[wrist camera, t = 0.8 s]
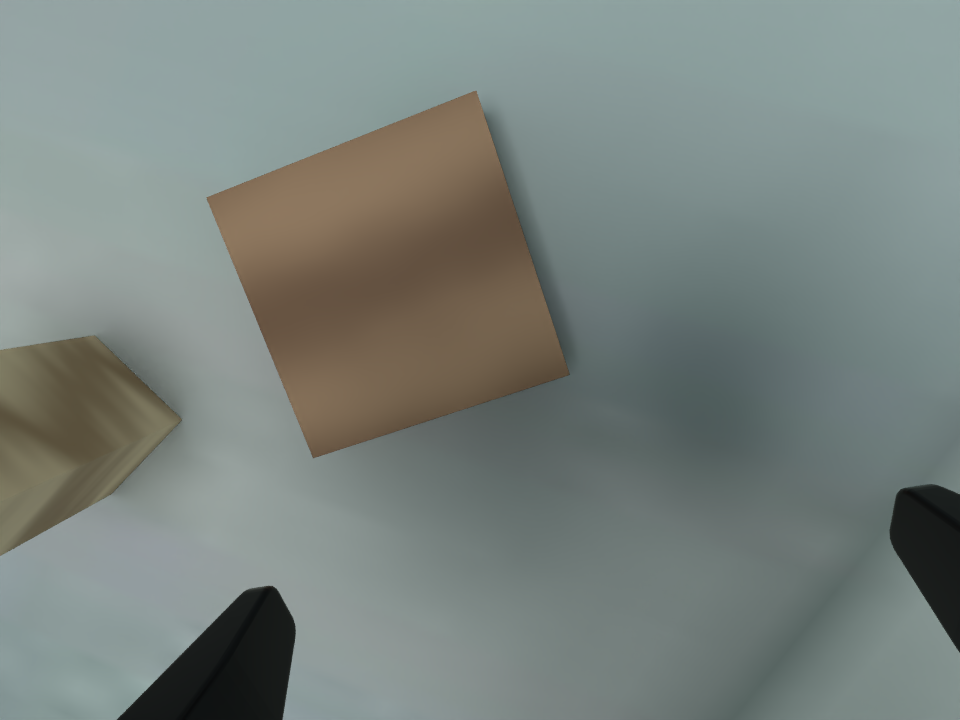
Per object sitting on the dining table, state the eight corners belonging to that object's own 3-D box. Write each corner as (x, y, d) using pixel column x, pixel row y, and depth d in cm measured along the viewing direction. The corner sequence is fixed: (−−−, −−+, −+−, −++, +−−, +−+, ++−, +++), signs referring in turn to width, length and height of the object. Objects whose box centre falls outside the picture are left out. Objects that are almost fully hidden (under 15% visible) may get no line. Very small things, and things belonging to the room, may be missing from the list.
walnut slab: (562, 360, 22) (569, 375, 19) (339, 433, 23) (313, 458, 20) (481, 116, 20) (476, 90, 17) (248, 207, 21) (206, 197, 18)
